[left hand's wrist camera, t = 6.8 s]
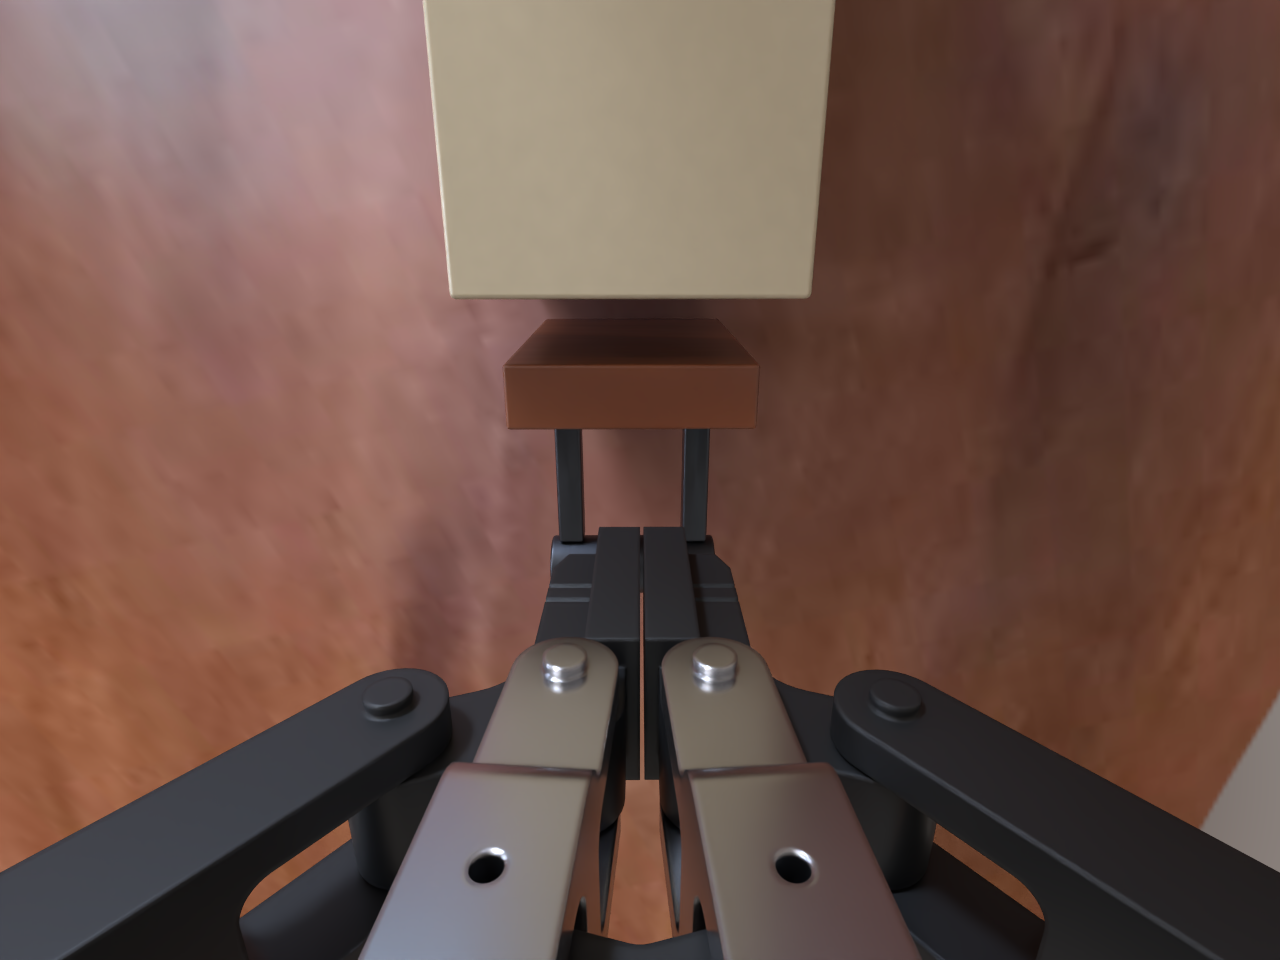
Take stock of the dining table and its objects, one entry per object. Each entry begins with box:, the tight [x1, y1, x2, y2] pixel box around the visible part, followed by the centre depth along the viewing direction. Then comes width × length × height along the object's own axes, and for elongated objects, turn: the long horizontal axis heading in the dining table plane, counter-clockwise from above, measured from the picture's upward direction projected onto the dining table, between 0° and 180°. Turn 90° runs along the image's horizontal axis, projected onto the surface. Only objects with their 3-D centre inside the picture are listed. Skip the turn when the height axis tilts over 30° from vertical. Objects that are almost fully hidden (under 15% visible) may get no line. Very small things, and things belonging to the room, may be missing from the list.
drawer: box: [503, 319, 760, 593], centre depth 13 cm, size 25×5×6 cm, turn 0°
